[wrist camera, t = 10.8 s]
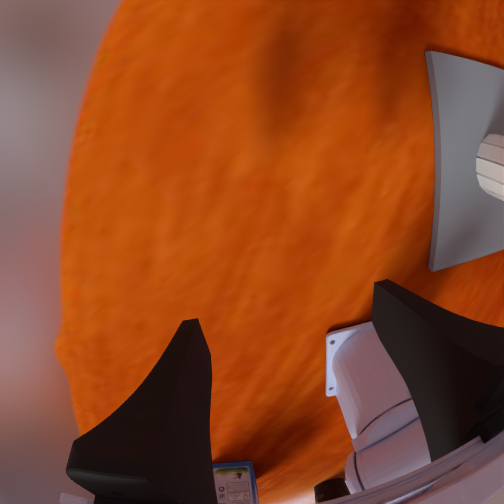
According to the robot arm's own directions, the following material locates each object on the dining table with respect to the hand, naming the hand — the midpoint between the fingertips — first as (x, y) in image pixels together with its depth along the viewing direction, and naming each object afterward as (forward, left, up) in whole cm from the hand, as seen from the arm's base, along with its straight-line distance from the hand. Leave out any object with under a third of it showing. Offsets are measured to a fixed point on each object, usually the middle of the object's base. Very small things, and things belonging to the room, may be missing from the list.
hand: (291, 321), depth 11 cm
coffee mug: (-56, -7, -10) cm, 57 cm away
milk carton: (-39, +10, -10) cm, 41 cm away
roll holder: (+3, -21, -9) cm, 23 cm away
